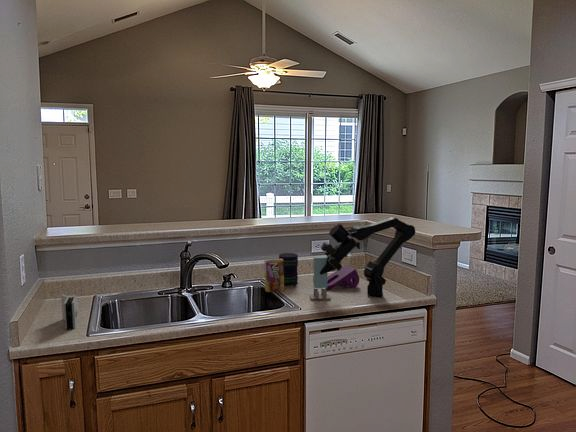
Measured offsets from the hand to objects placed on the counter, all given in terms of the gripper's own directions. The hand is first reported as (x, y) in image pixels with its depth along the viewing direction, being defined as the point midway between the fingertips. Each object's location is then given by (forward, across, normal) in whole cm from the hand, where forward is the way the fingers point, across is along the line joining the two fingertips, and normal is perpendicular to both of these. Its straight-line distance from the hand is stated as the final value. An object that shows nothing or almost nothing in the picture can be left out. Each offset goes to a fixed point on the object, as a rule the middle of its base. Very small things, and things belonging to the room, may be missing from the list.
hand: (319, 273), depth 200 cm
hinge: (+79, +29, -62) cm, 105 cm away
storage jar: (+18, -26, -1) cm, 31 cm away
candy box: (+23, -13, -6) cm, 27 cm away
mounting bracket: (+1, -19, +17) cm, 26 cm away
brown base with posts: (+8, 0, +9) cm, 12 cm away
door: (+4, 0, +5) cm, 7 cm away
